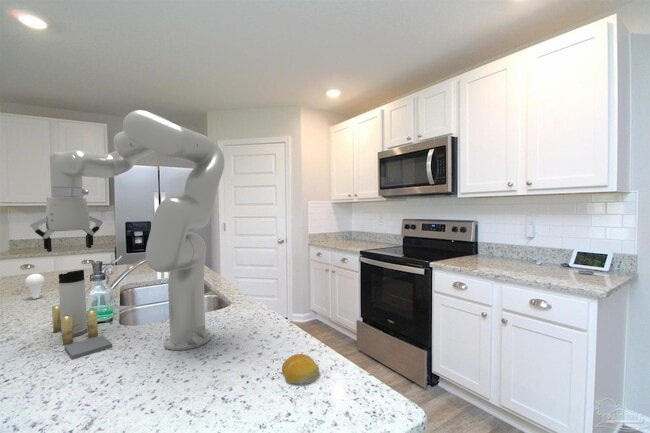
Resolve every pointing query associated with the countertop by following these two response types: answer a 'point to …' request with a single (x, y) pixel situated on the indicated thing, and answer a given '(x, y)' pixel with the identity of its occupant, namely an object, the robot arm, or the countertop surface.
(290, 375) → the bread roll
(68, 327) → the spacer posts
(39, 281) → the lightbulb
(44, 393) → the countertop surface
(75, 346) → the mat
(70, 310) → the travel mug
